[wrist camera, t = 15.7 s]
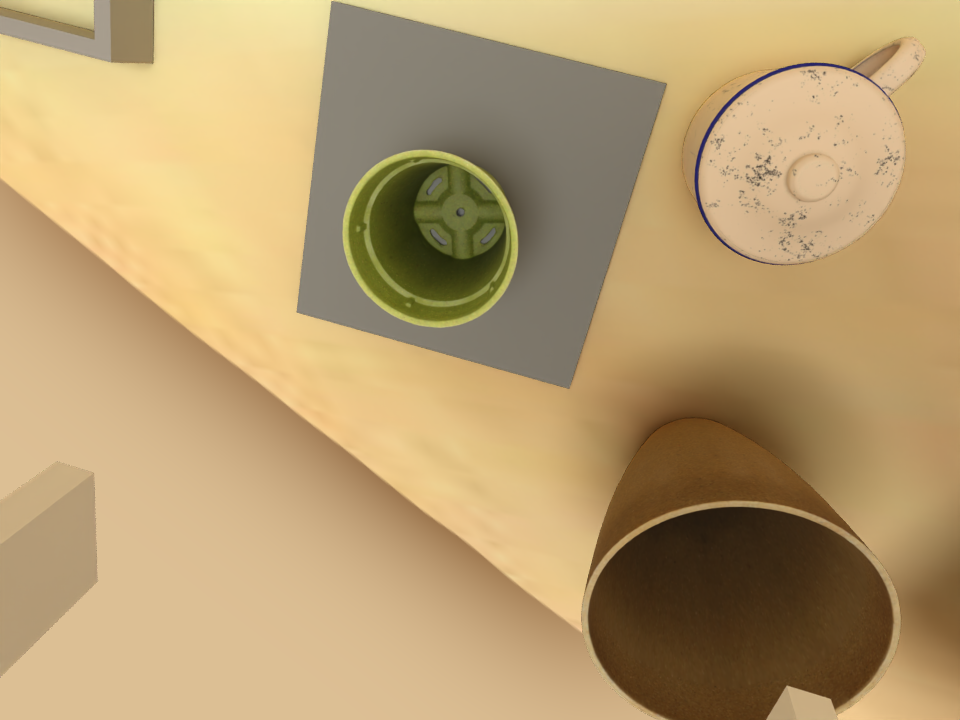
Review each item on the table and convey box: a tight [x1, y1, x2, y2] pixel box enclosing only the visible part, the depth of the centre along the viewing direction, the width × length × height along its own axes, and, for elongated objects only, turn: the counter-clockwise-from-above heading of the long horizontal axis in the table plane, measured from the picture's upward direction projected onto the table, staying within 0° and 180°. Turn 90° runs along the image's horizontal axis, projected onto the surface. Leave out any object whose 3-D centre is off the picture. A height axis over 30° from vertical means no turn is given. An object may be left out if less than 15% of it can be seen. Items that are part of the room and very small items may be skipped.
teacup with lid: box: [682, 37, 926, 265], centre depth 33 cm, size 12×9×12 cm
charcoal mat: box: [297, 1, 666, 389], centre depth 43 cm, size 20×20×1 cm
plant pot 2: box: [581, 418, 901, 720], centre depth 40 cm, size 15×15×16 cm
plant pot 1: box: [343, 150, 519, 328], centre depth 38 cm, size 9×9×9 cm
